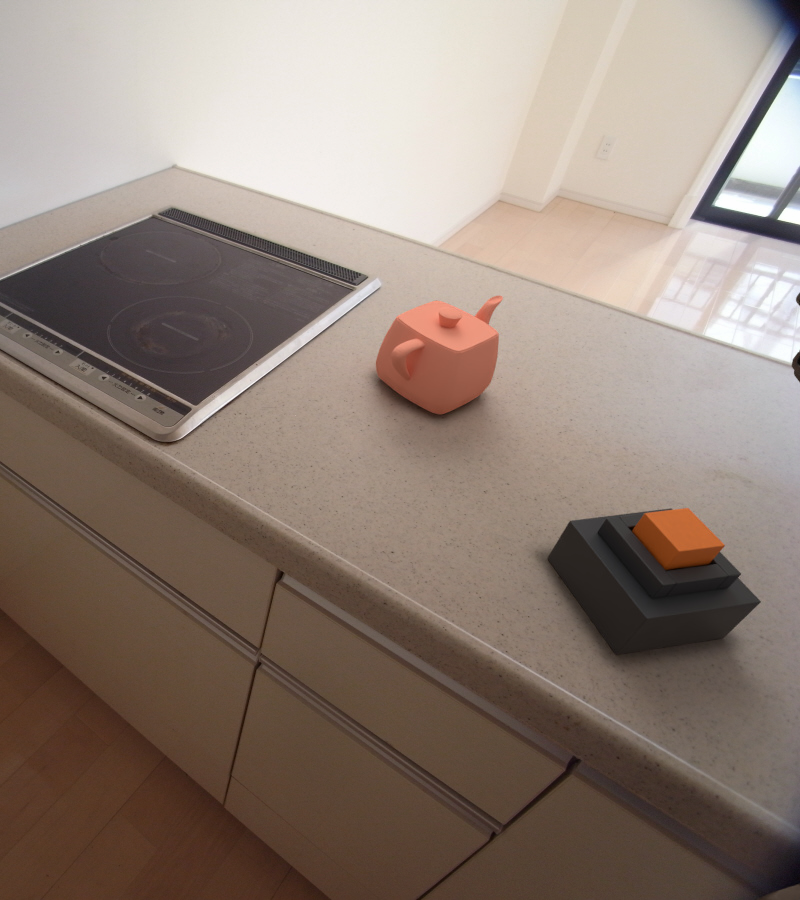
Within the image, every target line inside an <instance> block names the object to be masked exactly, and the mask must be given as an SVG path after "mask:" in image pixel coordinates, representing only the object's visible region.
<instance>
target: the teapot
mask: <svg viewBox="0 0 800 900" xmlns="http://www.w3.org/2000/svg"><path fill="white" fill-rule="evenodd" d="M503 300H504V297H503V295H494V296H492V297H490V298H489V299H487V300H486V301H485V302H484V303H483V304H482V306H481V307H480V308H479V310H478V311H477V312H476V313H475V315H473V314H470V313H469V312H468V311H467V312H466V311H464V310H463V309H461V308H458V307H456V306H455V305H452V304H449V303H447V302H445V301H441V300H433V301H429V302H427V303H424V304H421V305H418V306H416V307H413V308H411V309H409V310H407V311H404V312H402V313H400V314H399V315H397V316H396V317H395V318H394V320H393V322H392V323H391V325H390V327H389V328H388V330H387V332H386V334H385V336H384V338H383V340H382V342H381V343H380V347H379V350H378V352H377V355H376V359H375V369H376V374H377V376H378V378H379V379H380V380H381V381H382V382H384V383H385V384H386V385H387V386H388V387H389V388H391V389H392V390H393V391H394V392H395V393H398V394H399V395H400V396H402V397H403V398H405V399H406V400H408V401H410V402H412V403H413V404H415V405H417V406H419V407H420V408H422V409H424V410H426V411H428V412H430V413H432V414H435V415H436V414H437V415H443V414H444V415H445V414H447V413H449V412H451V411H454V410H457V409H458V408H460V407H462V406H464V405H466V404H467V403H469V402H471V401H473V400H475V399H477V398H478V397H479V396H480V395H482V394H483V393H484V392H485V391H486V390H487V388H488V387H489V386H490V384H491V382H492V380H493V378H494V374H495V370H496V366H497V361H498V354H499V342H500V341H499V340H500V334H499V332H498V330H497V329H495V328H494V327H493V326H491V325H490V322H491V318H492V316H493V314H494V312H495V310H496V309H497V307H498V306H499V305H500V304H501V302H502V301H503Z"/></svg>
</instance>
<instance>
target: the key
mask: <svg viewBox="0 0 800 900" xmlns="http://www.w3.org/2000/svg"><path fill="white" fill-rule="evenodd" d="M632 533H633V534H634V535H635V536H636V537H637V538H638V539H639V541H640V542H641V543H642V544H643V545H644V546H645V548H646V549H647V550H648V551H649V552H650V553H651V554H652V556H653V557H654V558H655V559H656V560H657V561H658V563H659V564H660V565H661V566H662V567H663V568H664V569H665V570H670V569H678V568H685V567H692V566H700V565H707V564H709V563H710V562H711V561H712V560H713V559H714V558H715V557H716V556H717V554H718V553H719V552H721V551H722V550H724V548H725V546H726V545H725V544H724V543H723V542H722V540H720V538H718V536H717V535H716V534H715V533H714V532H713V531H711V529H710V528H709V527H708V526H707V525H706V524H705V523H704V522H703V521H702V520H701V519H700V518H699V517H698V516H697V515H696V514H695V513H694V512H693V511H692V510H691V509H690V507H684V508H675V509H673V510H667V511H659V512H651V513H645V514H644V515H643V516H642V518H641V519H640V521H639V522H638V523H637V525H636V526H635V528H634V529H633V530H632Z"/></svg>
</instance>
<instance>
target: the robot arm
mask: <svg viewBox="0 0 800 900" xmlns="http://www.w3.org/2000/svg"><path fill="white" fill-rule="evenodd" d="M795 302H796V304H797V305H798V306H799V307H800V292H798V294H797V295H796V297H795ZM791 368H792V370H793V375H794V377H795V379H796V380H797V381H798V382H799V383H800V349H799V351H798V352H796V354H795V355H794V357H793V358H792V361H791ZM754 900H800V883H798V884H794V885H791V886H787V887H784V888H781V889H778V890H775V891H772V892H770V893H767V894H765V895H761V896H760V897H758V898H755V899H754Z"/></svg>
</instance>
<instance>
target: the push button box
mask: <svg viewBox="0 0 800 900" xmlns="http://www.w3.org/2000/svg"><path fill="white" fill-rule="evenodd" d="M667 510H674V509H673V508H671V507H670V508H665V509H664V508H662V509H656V510H655V509H654V510H647V511H637V512H631V513H623V514H614V515H605V516H598V517H590V518H589V517H588V518H581V519H573V520H569V521H568V523H567V525H566V526H565V528H564V530H563V532H562V533H561V535H560V536H559V538H558V540H557V541H556V543H555V544H554V546H553V547H552V550H551V551H550V553H549V554H548V556H547V560H548V561H549V563H550V564H551V566H552V567H553V568H554V570H555V572H556V573H557V574H558V575H559V577H560V578H561V580H562V581H563V583H564V584H565V585H566V587H567V588H568V590H569V591H570V592H571V594H572V595H573V596H574V598H575V599H576V601H577V602H578V603H579V605H580V606H581V608H582V609H583V610H584V612H585V614H586V615H587V616H588V618H589V619H590V620H591V622H592V623H593V624H594V626H595V627H596V629H597V630H598V631H599V633H600V634H601V636H602V637H603V639H604V640H605V642H606V644H608V646H609V647H610V648H611V650H612V651H613V653H614V654H615V655H618V656H619V655H623V654H630V653H636V652H642V651H650V650H656V649H660V648H661V649H662V648H668V647H675V646H681V645H688V644H694V643H701V642H707V641H713V640H720V639H725V638H726V637H727V635H728V634H729V633H731V632H732V631H733V630H734V629H735V627H737V626H738V625H739V624H740V623H741V622H742V621H743V620H744V619H745V618H747V616H748V615H749V614H750V613H751V612H753V611H754V610H755V609H756V608H757V607H758V606H759V605H760V604H761V603H762V601H761V599H759V597H757V596H756V594H755V593H753V592H752V590H751V589H749V587H748V586H747V585H746V584H745V583H744V582H743V581H742V580H741V578H739V577H741V575H742V573H741V571H740V570H738V569H737V567H735V565H734V564H733V563H731V561H730V560H729V559H728V558H727V557H726V556H725V555H724V554H723V553H722V552H721V551H720V552H719V553H718V554H717V556H716V557H715V558H714V559H713V560H712V561H711V562H710V563H709V564H707V565H700V566H692V567H685V568H678V569H670V570H665V569H664V568H663V567H662V566H661V565H660V564H659V563H658V561H657V560H656V559H655V558H654V557H653V556H652V554H651V553H650V552H649V551H648V550H647V549H646V548H645V546H644V545H643V544H642V543H641V542H640V541H639V539H638V538H637V537H636V536H635V535H634V534H633V533H632V530H633V529H634V528H635V526H636V525H637V523H638V522H639V521H640V519H641V518H642V516H643V515H644V514H645V513H651V512H659V511H667Z"/></svg>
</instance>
